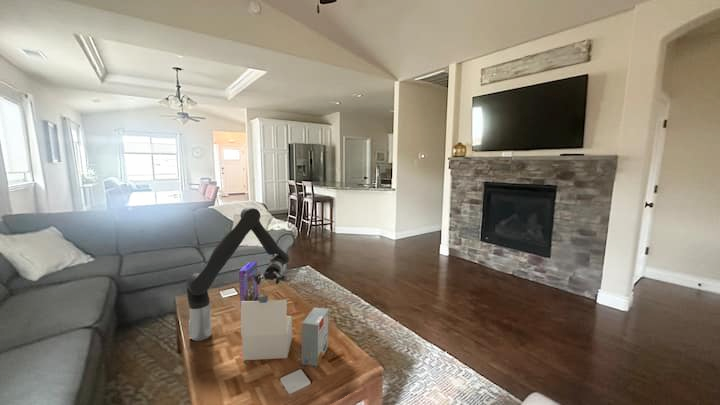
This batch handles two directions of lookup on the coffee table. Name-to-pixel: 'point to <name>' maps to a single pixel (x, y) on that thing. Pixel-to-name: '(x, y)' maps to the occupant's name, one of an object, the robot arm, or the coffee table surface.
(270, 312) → the flap
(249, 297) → the cereal box
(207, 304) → the robot arm
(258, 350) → the carton
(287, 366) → the coffee table surface
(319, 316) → the hard drive box
